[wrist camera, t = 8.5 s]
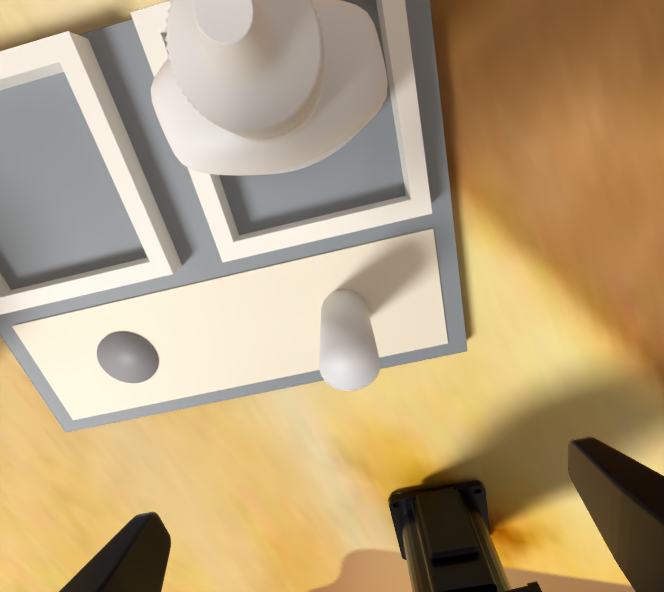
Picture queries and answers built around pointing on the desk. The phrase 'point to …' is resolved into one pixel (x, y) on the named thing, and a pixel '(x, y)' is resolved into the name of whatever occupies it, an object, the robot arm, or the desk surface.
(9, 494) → the desk surface
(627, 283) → the desk surface
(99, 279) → the board
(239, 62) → the white bottle
